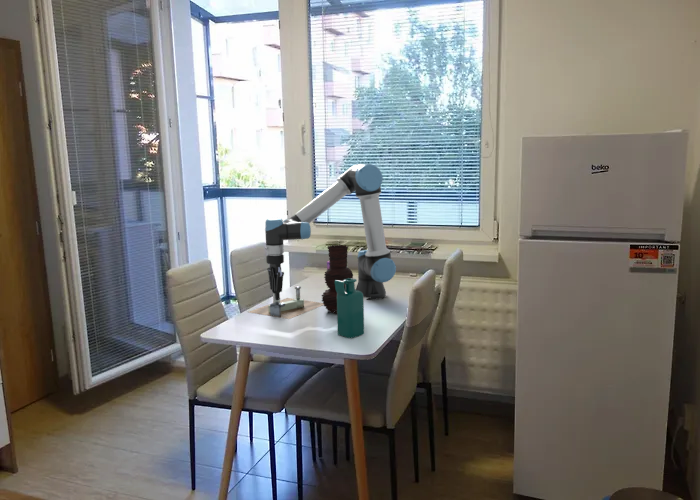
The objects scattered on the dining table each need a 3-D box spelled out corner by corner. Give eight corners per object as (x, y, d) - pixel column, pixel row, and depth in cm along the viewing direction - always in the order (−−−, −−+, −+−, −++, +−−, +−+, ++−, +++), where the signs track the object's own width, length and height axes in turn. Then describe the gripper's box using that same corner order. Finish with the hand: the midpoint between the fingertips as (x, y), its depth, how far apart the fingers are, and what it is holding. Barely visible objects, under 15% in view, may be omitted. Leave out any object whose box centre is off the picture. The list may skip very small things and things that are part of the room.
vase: (314, 315, 242) (312, 247, 237) (337, 307, 254) (336, 242, 249) (341, 321, 232) (339, 250, 228) (364, 313, 244) (363, 245, 239)
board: (327, 306, 256) (327, 303, 256) (289, 322, 233) (289, 319, 233) (287, 300, 268) (287, 297, 268) (247, 315, 245) (247, 312, 245)
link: (300, 304, 254) (300, 298, 254) (306, 306, 250) (305, 300, 250) (267, 311, 244) (267, 304, 244) (273, 313, 240) (272, 306, 240)
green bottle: (351, 329, 221) (350, 275, 218) (366, 334, 215) (365, 278, 211) (332, 335, 215) (331, 279, 211) (347, 340, 208) (346, 282, 205)
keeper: (285, 314, 239) (285, 303, 238) (279, 316, 236) (279, 305, 235) (276, 313, 242) (275, 301, 241) (270, 315, 238) (269, 304, 238)
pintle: (302, 299, 251) (302, 286, 250) (298, 300, 248) (298, 287, 248) (297, 298, 252) (297, 285, 251) (293, 299, 250) (293, 287, 249)
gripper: (261, 252, 246) (263, 304, 250) (272, 257, 235) (274, 311, 239) (277, 251, 250) (278, 302, 254) (289, 255, 239) (290, 308, 243)
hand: (276, 306), depth 247 cm, fingers closed
